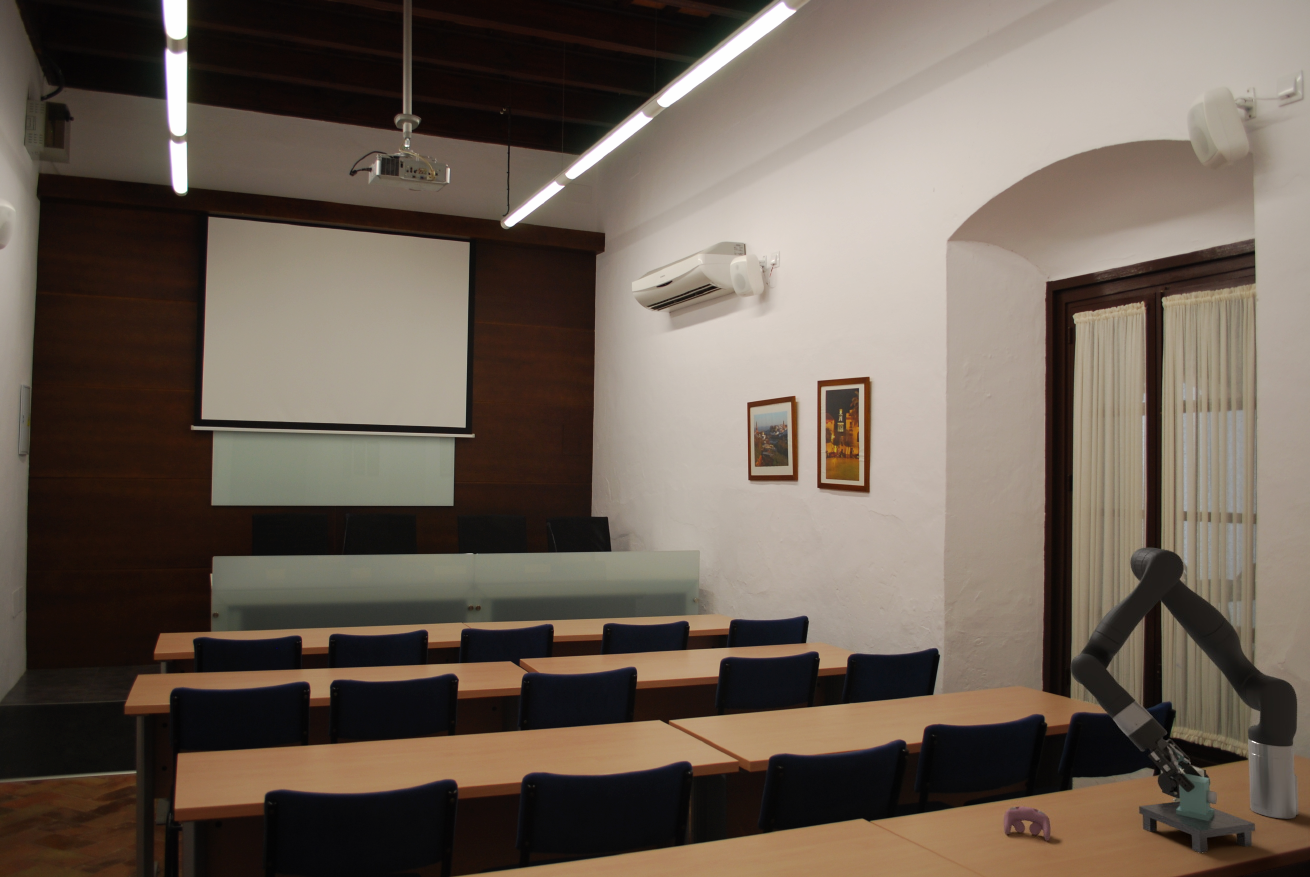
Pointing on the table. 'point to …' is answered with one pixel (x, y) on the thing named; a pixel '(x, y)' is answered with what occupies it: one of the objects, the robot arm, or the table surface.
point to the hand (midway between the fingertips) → (1195, 785)
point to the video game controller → (1027, 814)
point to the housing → (1197, 799)
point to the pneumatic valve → (1175, 783)
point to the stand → (1197, 824)
